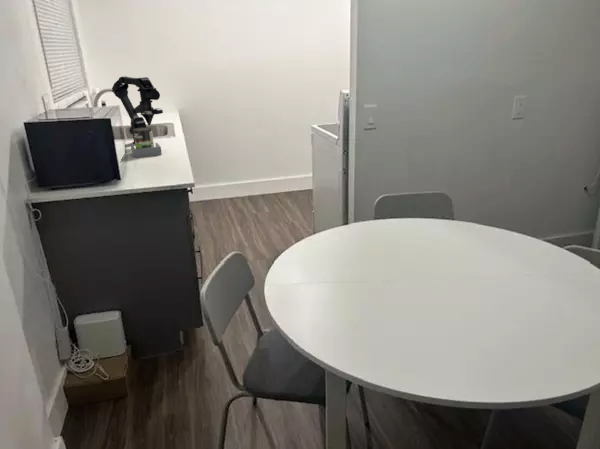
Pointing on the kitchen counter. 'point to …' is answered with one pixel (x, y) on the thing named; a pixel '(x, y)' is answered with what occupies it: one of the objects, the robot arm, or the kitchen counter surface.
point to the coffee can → (143, 137)
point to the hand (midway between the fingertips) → (149, 125)
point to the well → (146, 151)
